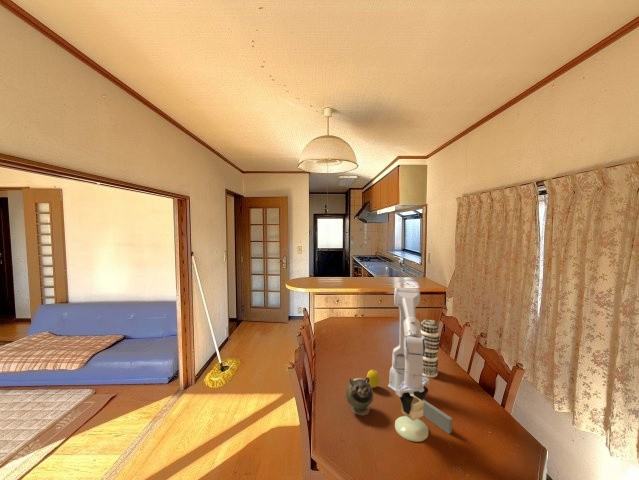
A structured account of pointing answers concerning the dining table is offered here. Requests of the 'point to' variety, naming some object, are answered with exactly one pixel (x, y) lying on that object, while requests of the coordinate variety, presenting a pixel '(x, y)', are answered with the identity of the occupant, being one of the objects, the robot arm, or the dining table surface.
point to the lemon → (373, 378)
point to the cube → (415, 408)
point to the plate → (411, 429)
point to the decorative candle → (430, 347)
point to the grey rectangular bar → (437, 416)
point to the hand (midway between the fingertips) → (412, 409)
